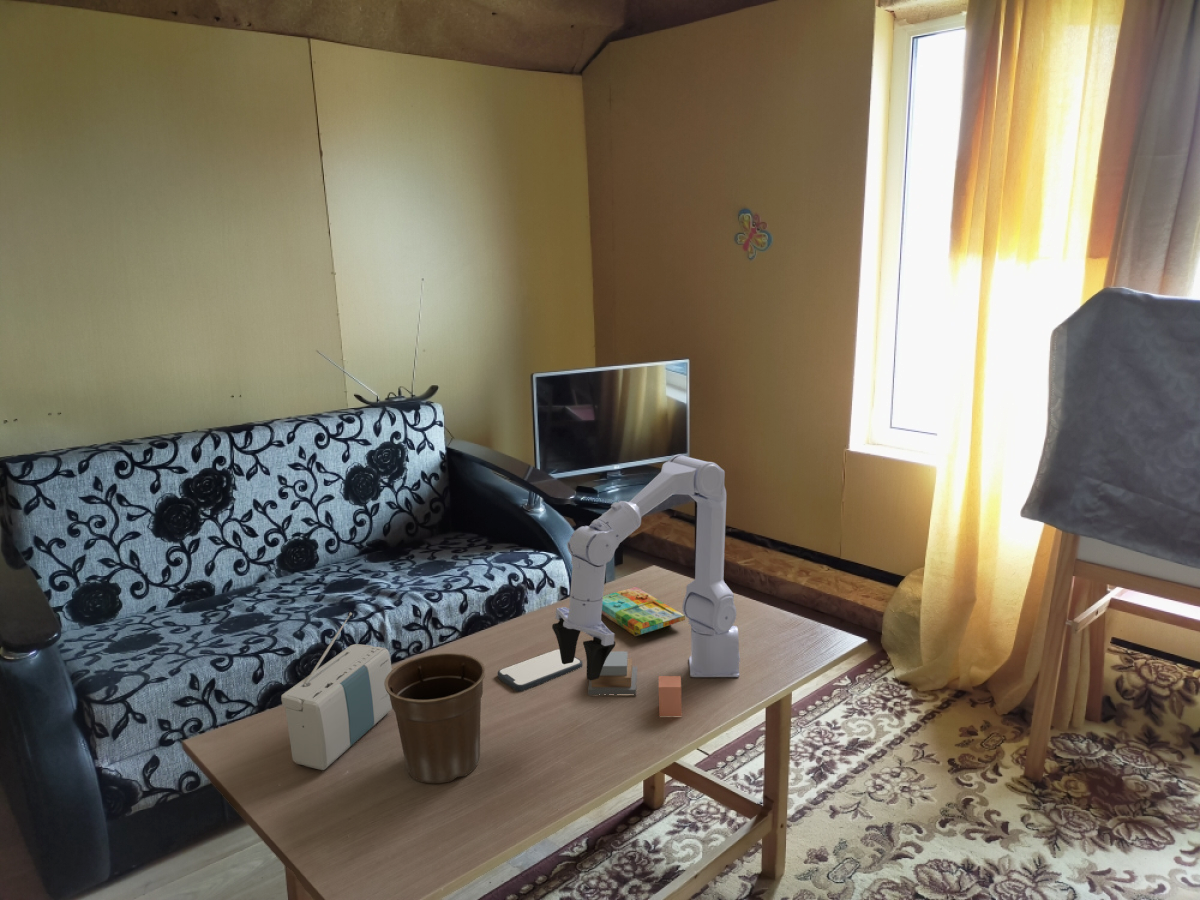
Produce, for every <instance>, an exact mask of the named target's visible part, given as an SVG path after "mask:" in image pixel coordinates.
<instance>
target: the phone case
mask: <svg viewBox="0 0 1200 900" xmlns="http://www.w3.org/2000/svg"><path fill="white" fill-rule="evenodd" d="M580 667H581V668H582V667H583V660H582V659H580V658H579V657H576V656H575V657H574V661H573V663H568V664H562V661H561V655H560V649H559V648H556V649H554V650H551V651H548V652H546V653H545V652H544V653H542V654H539V655H537V656H534V657H531V658H529V659H528V658H527V659H526V660H523V661H520V662H517V663H515V664H512V665H510V666H507V667H503V668H501V669H499V670H498V671H497V679H499V680H500V681H501V682H503V684H504V683H505V685H507V686H508V687H510V688H511V689H512V688H513V690H514V691H516V692H524V690H525V691H527V690H529V688H530V689H532V688H534V686H535V687H536V686H539V684H540V685H541V684H544V682H545V683H547V682H549V680H550V681H551V679H552V680H554V679H556V677H557V678H559V677H562V676H564V675H566V673H567V674H568V672H569V673H571V671H572V672H574V671H576V669H577V670H579V669H581V668H580ZM578 668H579V669H578ZM573 670H574V671H573ZM561 675H562V676H561ZM553 678H554V679H553ZM546 681H547V682H546ZM531 687H532V688H531Z"/></svg>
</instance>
